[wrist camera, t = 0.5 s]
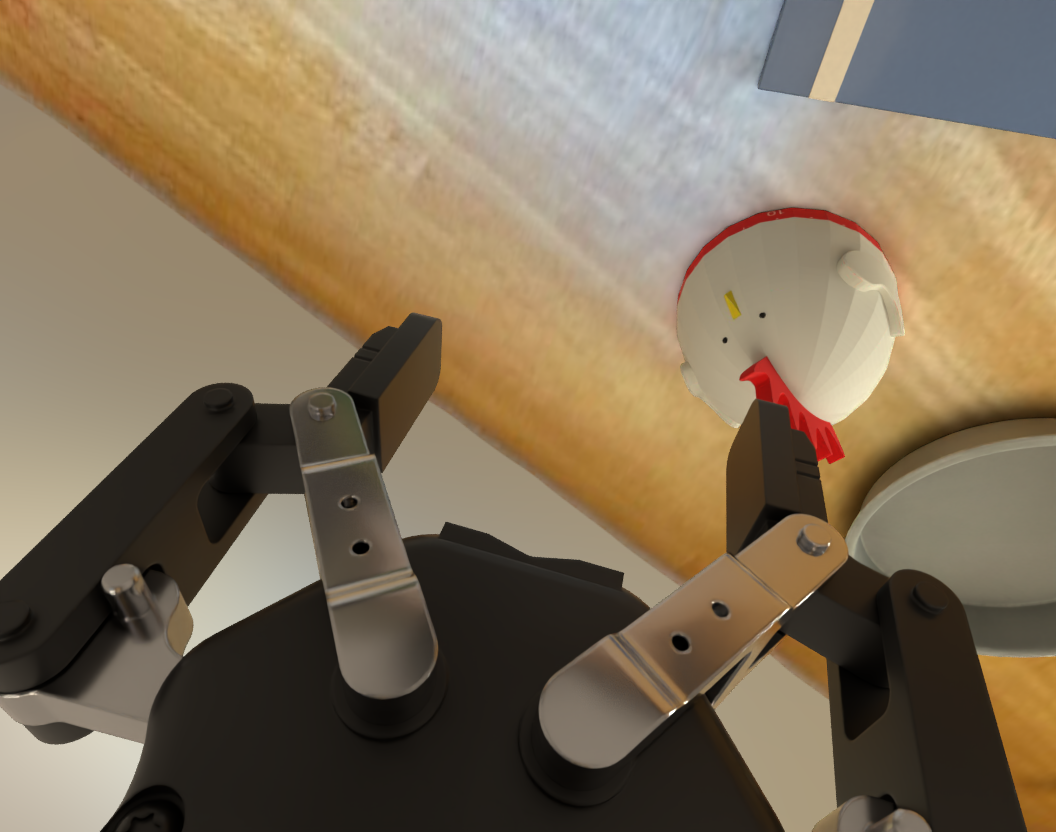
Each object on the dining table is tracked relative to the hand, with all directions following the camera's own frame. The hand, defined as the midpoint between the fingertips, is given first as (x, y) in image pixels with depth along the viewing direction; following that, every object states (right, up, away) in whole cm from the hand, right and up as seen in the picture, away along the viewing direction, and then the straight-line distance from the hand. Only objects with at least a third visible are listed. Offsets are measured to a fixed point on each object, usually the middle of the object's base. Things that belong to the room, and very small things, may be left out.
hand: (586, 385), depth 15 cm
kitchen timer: (+16, +7, +27) cm, 32 cm away
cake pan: (+37, -9, +33) cm, 51 cm away
